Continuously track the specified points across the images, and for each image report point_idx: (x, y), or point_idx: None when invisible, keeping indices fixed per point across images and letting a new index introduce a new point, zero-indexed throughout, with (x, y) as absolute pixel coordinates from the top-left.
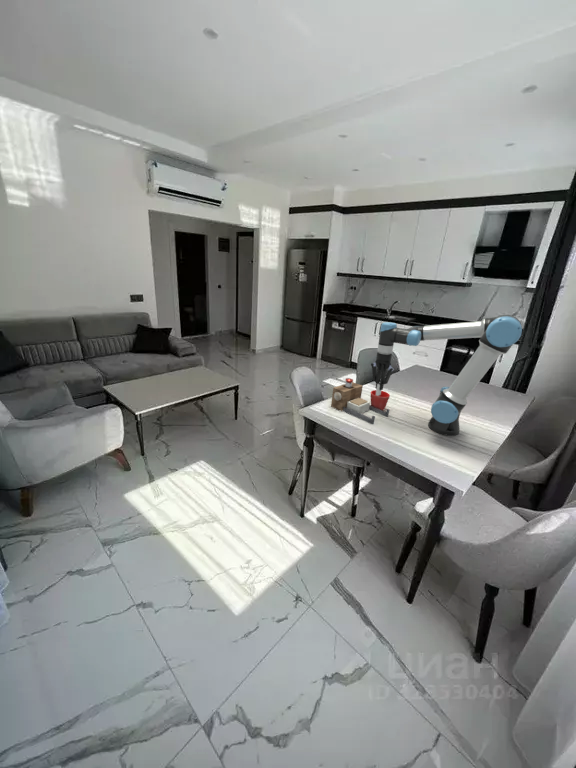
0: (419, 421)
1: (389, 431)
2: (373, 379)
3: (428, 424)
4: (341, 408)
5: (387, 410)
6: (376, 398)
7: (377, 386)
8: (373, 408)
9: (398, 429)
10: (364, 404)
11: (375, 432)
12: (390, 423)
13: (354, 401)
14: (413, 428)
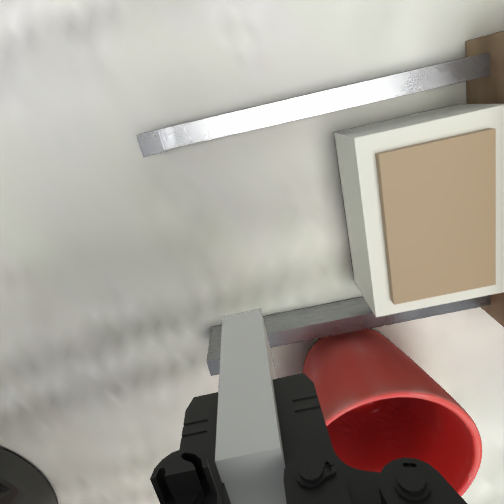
0: (90, 459)
1: (17, 172)
2: (438, 497)
3: (17, 467)
4: (487, 35)
5: (215, 355)
6: (356, 383)
7: (261, 405)
8: (333, 314)
9: (29, 260)
10: (367, 233)
11: (27, 42)
12: (123, 276)
13: (461, 170)
14: (18, 361)
